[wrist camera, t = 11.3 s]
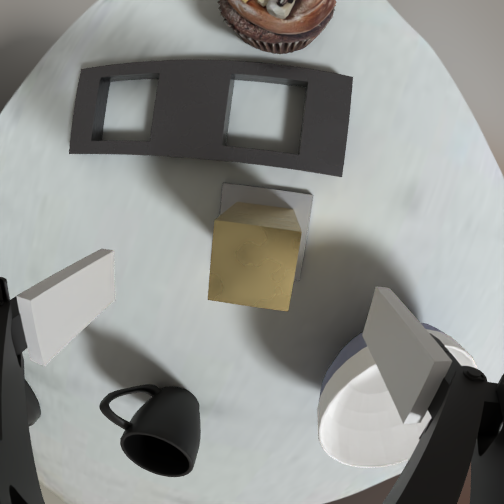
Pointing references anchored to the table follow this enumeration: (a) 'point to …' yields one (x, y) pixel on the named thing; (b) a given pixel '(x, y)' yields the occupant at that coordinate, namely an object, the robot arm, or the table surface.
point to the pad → (276, 199)
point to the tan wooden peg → (254, 256)
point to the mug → (160, 429)
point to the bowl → (369, 408)
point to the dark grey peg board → (215, 112)
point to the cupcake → (277, 22)
